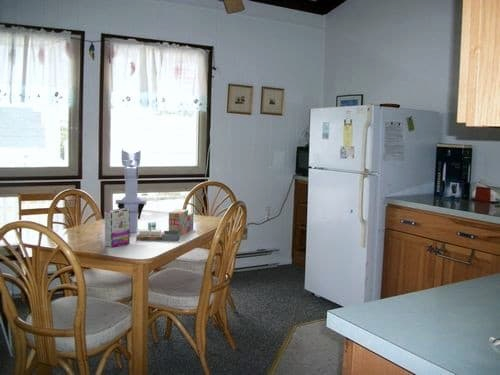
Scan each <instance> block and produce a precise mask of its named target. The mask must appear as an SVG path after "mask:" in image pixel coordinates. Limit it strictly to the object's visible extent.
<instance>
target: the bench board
mask: <svg viewBox="0 0 500 375" xmlns="http://www.w3.org/2000/svg"><path fill="white" fill-rule="evenodd" d="M162 235H164V231H163V232H162V231H161V235H160V236H157V235H151V231H150V234H149V235H139V233H137V235H136V239H135V240H136V241H142V242H143V241H146V242H162Z"/></svg>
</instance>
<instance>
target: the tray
mask: <svg viewBox="0 0 500 375" xmlns="http://www.w3.org/2000/svg"><path fill="white" fill-rule="evenodd" d="M163 232H164V235H162V240H161V242H179V240H180V238H181V236H180V231H169V230H163Z"/></svg>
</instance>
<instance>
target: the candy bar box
mask: <svg viewBox="0 0 500 375" xmlns="http://www.w3.org/2000/svg"><path fill="white" fill-rule="evenodd" d="M129 210H130V209H125V208H122V209H119V208H115V209H110V210H104V246H105V247H106V246H108V247H107V248H116V247H119V246H120V247H121V246H124V245H125V246H126V245H129V244H130V243H131V234H130V233H131V232H130V212H129Z"/></svg>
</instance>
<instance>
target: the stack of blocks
mask: <svg viewBox="0 0 500 375" xmlns="http://www.w3.org/2000/svg"><path fill="white" fill-rule="evenodd" d="M193 229H194V212H189V209H182V208H181V209H179V208H177V209H174V210H172V211H169V212H168V231H180V237H182V236H184V235H186V234H187V233H189V232H190V231H192V230H193Z"/></svg>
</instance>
